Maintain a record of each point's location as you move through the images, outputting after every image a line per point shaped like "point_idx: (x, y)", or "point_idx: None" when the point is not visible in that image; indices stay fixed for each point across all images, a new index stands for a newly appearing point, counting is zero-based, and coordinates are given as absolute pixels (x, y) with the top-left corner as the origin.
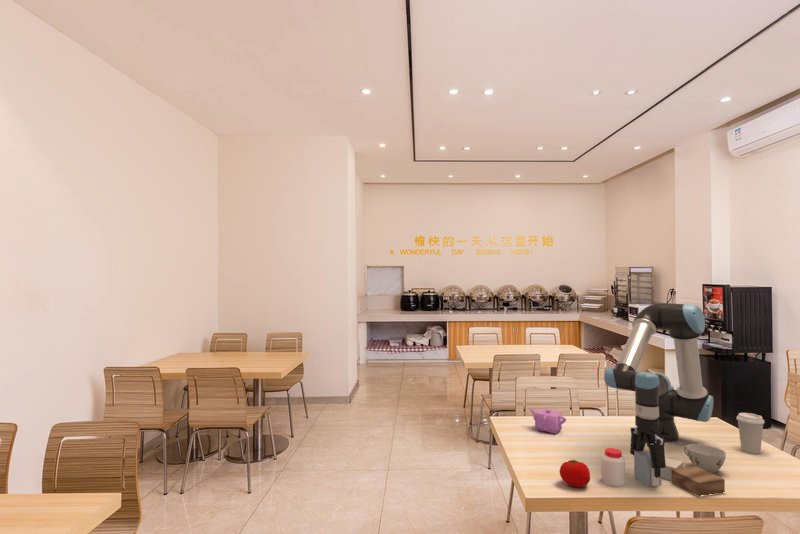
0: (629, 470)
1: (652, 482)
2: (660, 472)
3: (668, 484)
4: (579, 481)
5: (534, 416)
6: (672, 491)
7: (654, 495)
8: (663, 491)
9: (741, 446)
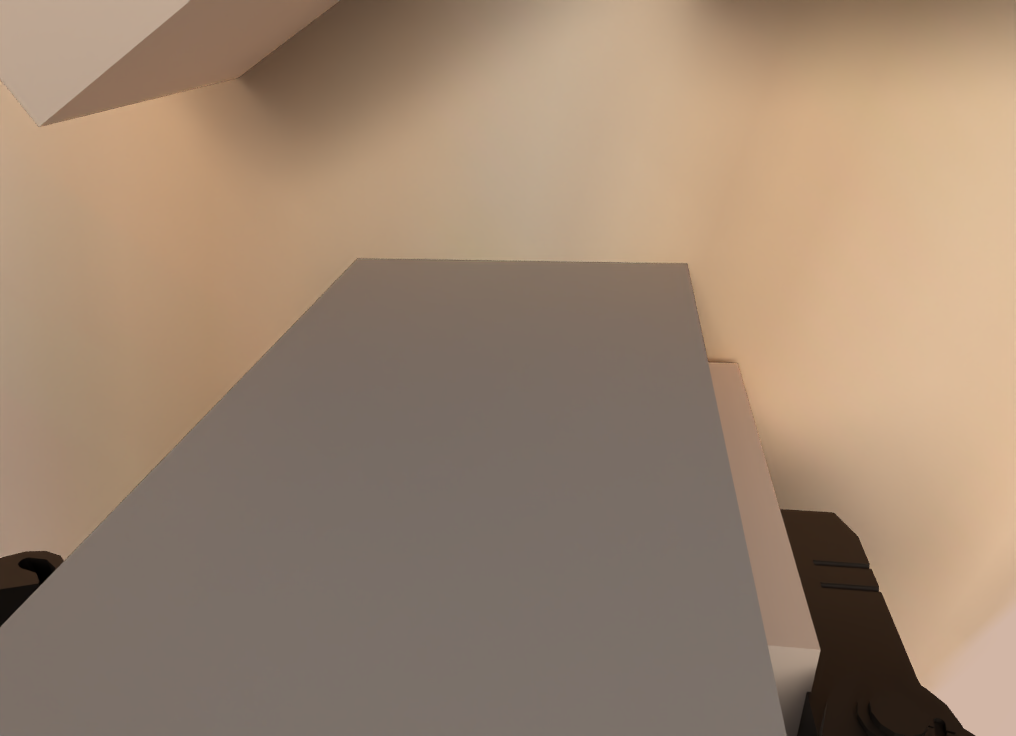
0: (65, 353)
1: None
2: (706, 398)
3: (729, 102)
4: None
5: None
6: (1002, 286)
7: (944, 645)
8: (915, 437)
9: None
